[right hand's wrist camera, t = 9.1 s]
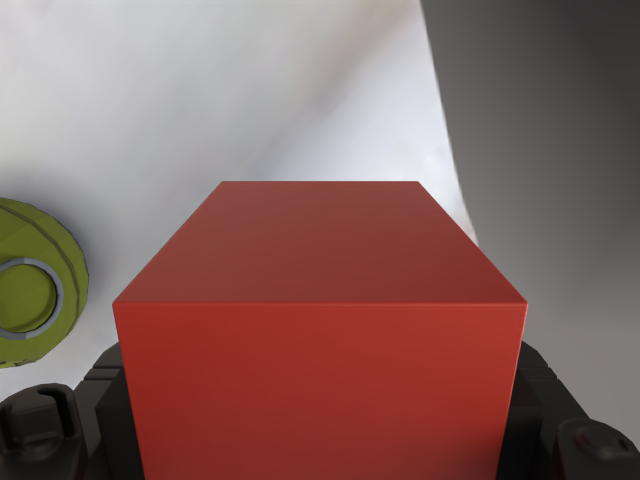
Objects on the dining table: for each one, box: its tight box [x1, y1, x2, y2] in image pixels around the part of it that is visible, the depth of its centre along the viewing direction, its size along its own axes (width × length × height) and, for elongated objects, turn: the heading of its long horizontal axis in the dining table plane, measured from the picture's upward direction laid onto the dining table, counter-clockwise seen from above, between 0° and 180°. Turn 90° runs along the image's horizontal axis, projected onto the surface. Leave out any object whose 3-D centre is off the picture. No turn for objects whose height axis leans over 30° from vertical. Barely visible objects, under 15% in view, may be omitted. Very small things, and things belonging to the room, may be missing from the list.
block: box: [112, 181, 528, 480], centre depth 12 cm, size 6×7×8 cm
